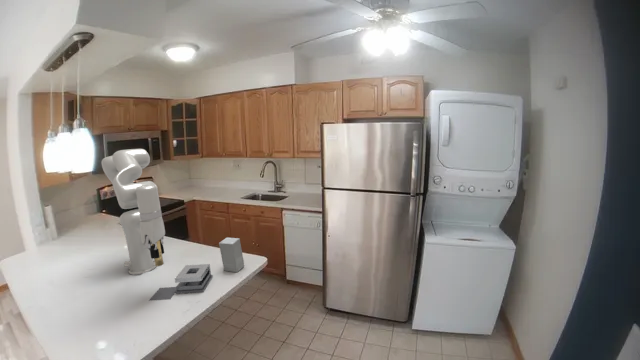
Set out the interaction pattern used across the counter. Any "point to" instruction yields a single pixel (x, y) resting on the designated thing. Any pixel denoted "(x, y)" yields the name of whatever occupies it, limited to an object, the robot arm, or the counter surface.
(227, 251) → the skincare box
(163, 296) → the mat
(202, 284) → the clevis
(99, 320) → the counter surface
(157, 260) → the pin
